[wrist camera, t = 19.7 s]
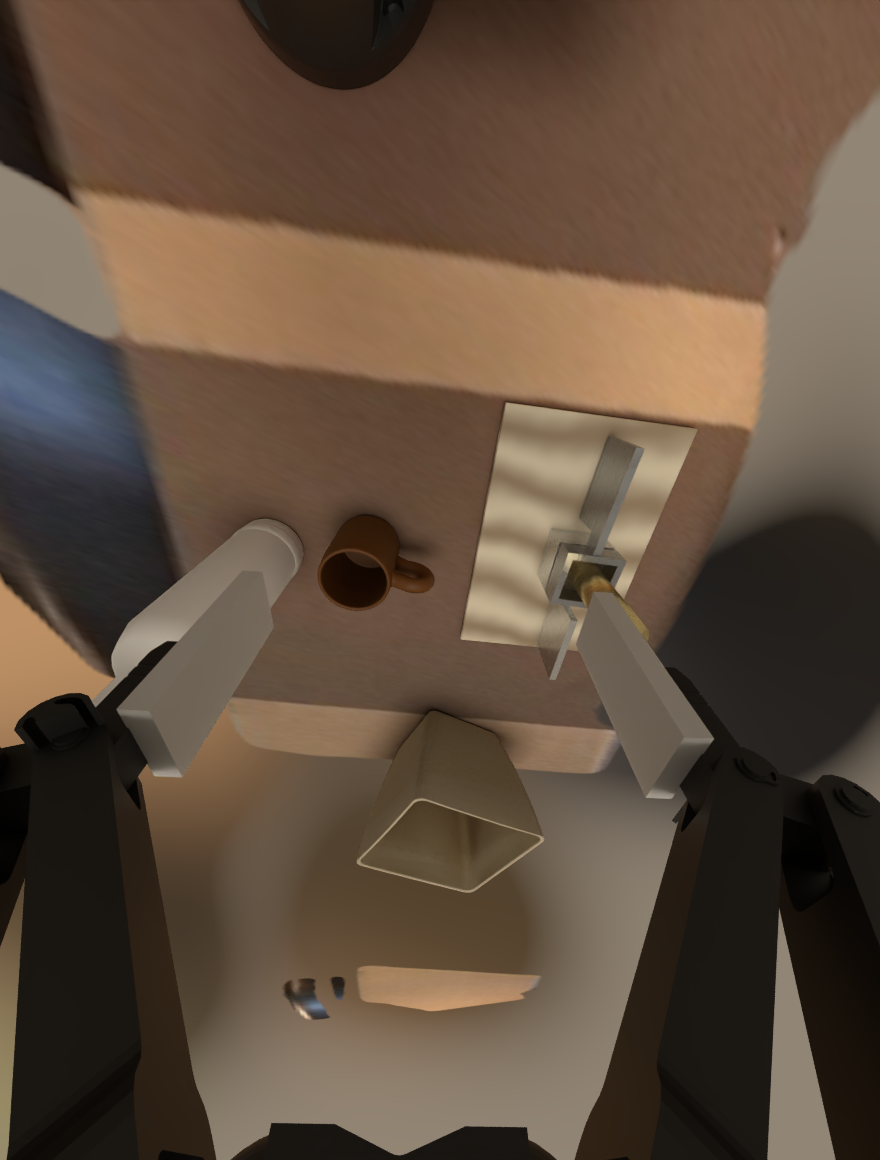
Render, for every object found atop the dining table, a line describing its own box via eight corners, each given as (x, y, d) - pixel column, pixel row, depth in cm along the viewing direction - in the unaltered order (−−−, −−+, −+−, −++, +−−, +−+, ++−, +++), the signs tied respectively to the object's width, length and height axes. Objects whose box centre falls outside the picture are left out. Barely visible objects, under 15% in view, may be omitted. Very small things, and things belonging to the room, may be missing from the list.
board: (504, 401, 38) (506, 402, 37) (692, 427, 39) (697, 429, 38) (460, 634, 53) (460, 639, 52) (597, 648, 54) (600, 652, 53)
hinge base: (573, 447, 39) (597, 462, 33) (630, 454, 40) (664, 471, 34) (517, 640, 52) (527, 677, 46) (561, 645, 53) (576, 681, 47)
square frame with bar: (583, 431, 38) (608, 443, 33) (641, 441, 39) (675, 454, 33) (536, 574, 47) (550, 603, 41) (584, 581, 47) (604, 610, 41)
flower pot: (464, 787, 71) (470, 896, 57) (372, 755, 67) (353, 866, 52) (523, 728, 63) (548, 838, 48) (423, 688, 58) (417, 796, 44)
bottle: (259, 503, 43) (-10, 712, 17) (317, 545, 46) (159, 780, 20) (227, 550, 46) (-42, 788, 20) (284, 586, 49) (108, 838, 23)
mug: (440, 524, 45) (440, 560, 37) (430, 579, 49) (428, 623, 40) (339, 508, 44) (315, 541, 36) (336, 565, 47) (315, 607, 39)
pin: (560, 541, 45) (618, 621, 31) (586, 544, 45) (655, 625, 31) (553, 565, 46) (605, 651, 32) (578, 567, 46) (640, 654, 33)
